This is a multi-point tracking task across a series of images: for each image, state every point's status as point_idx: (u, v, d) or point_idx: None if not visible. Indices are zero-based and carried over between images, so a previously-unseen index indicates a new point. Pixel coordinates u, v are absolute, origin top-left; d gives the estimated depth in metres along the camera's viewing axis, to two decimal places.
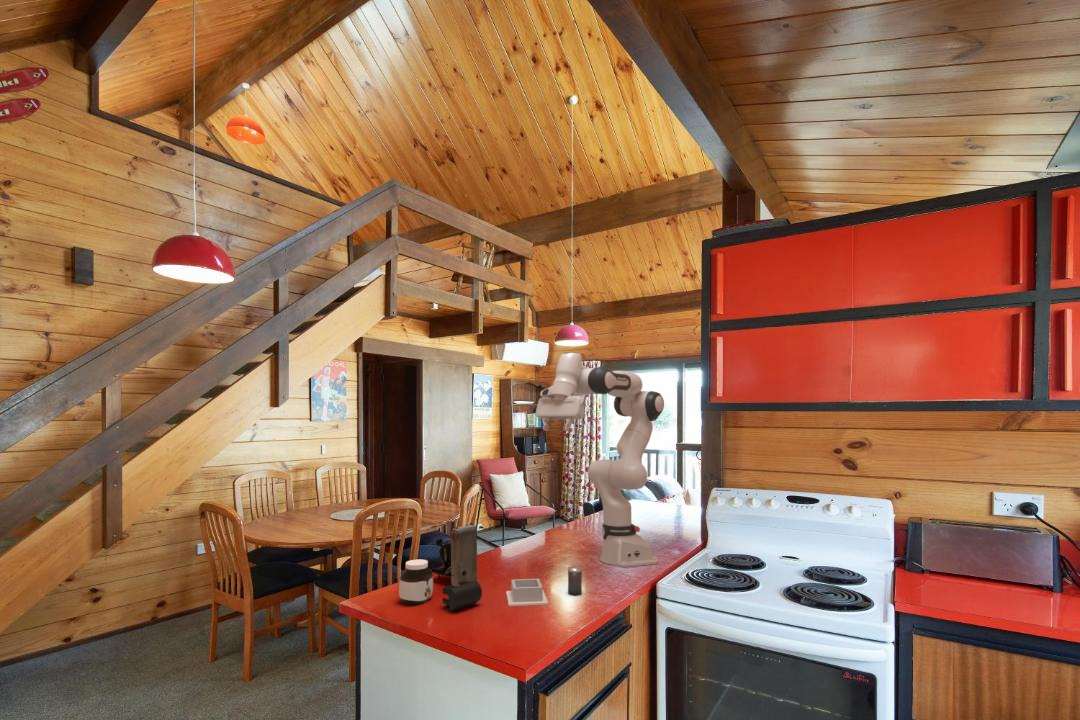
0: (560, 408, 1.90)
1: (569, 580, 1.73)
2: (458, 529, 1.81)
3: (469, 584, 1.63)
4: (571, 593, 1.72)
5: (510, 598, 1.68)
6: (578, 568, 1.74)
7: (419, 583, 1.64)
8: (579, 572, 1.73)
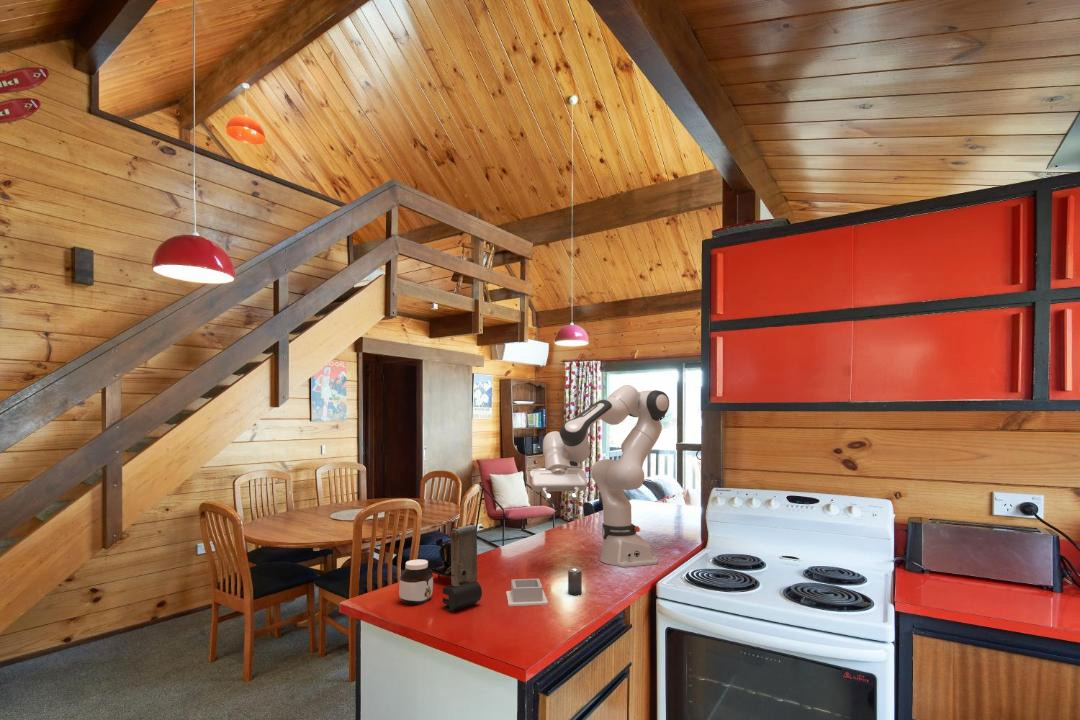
0: None
1: (569, 580, 1.73)
2: (458, 529, 1.81)
3: (469, 584, 1.63)
4: (571, 593, 1.72)
5: (510, 598, 1.68)
6: (578, 568, 1.74)
7: (419, 583, 1.64)
8: (579, 572, 1.73)
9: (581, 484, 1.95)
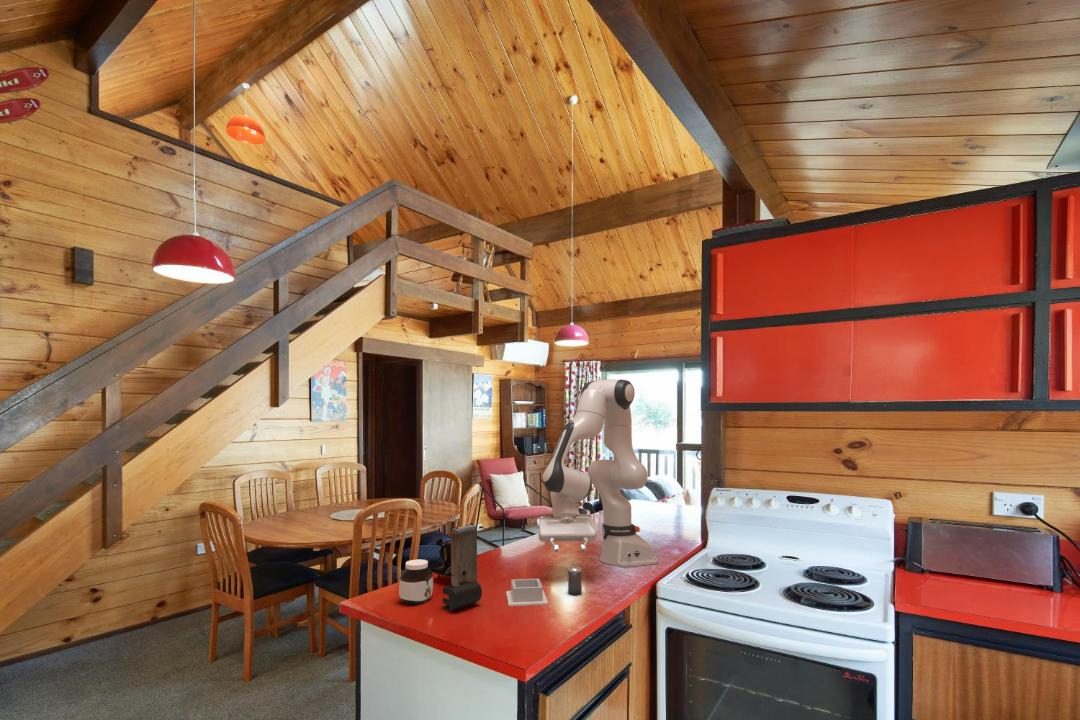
0: None
1: (569, 580, 1.73)
2: (458, 529, 1.81)
3: (469, 584, 1.63)
4: (571, 593, 1.72)
5: (510, 598, 1.68)
6: (578, 568, 1.74)
7: (419, 583, 1.64)
8: (579, 572, 1.73)
9: (590, 534, 1.86)
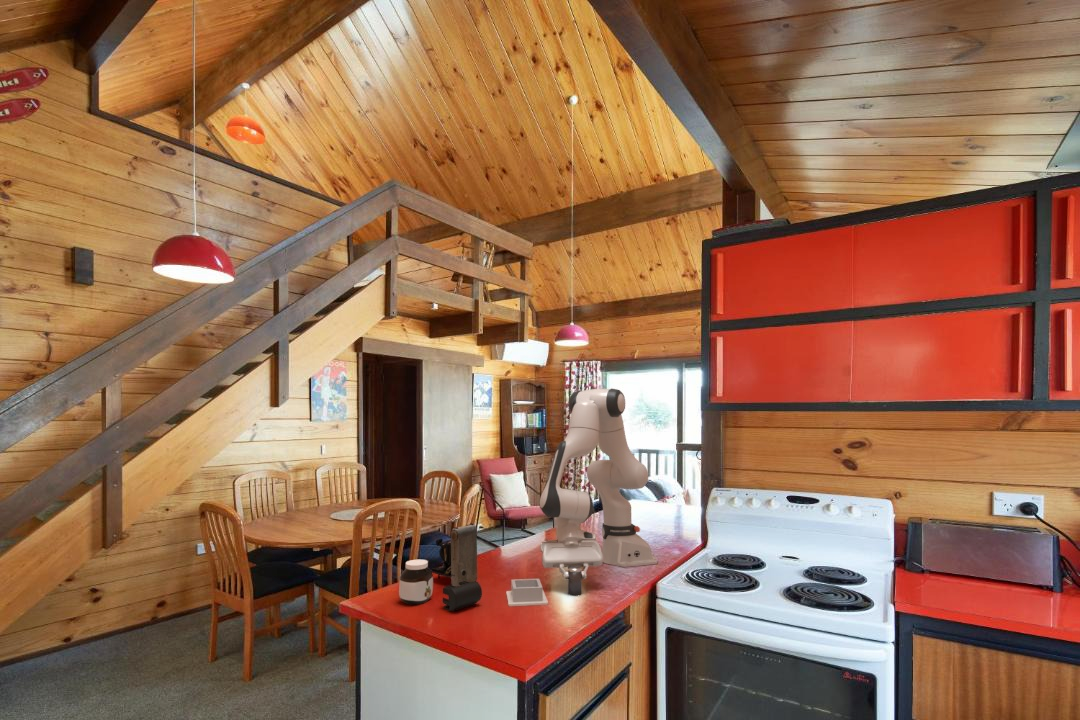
0: None
1: (569, 580, 1.73)
2: (458, 529, 1.81)
3: (469, 584, 1.63)
4: (571, 593, 1.72)
5: (510, 598, 1.68)
6: (578, 568, 1.74)
7: (419, 583, 1.64)
8: (579, 572, 1.73)
9: (596, 560, 1.78)
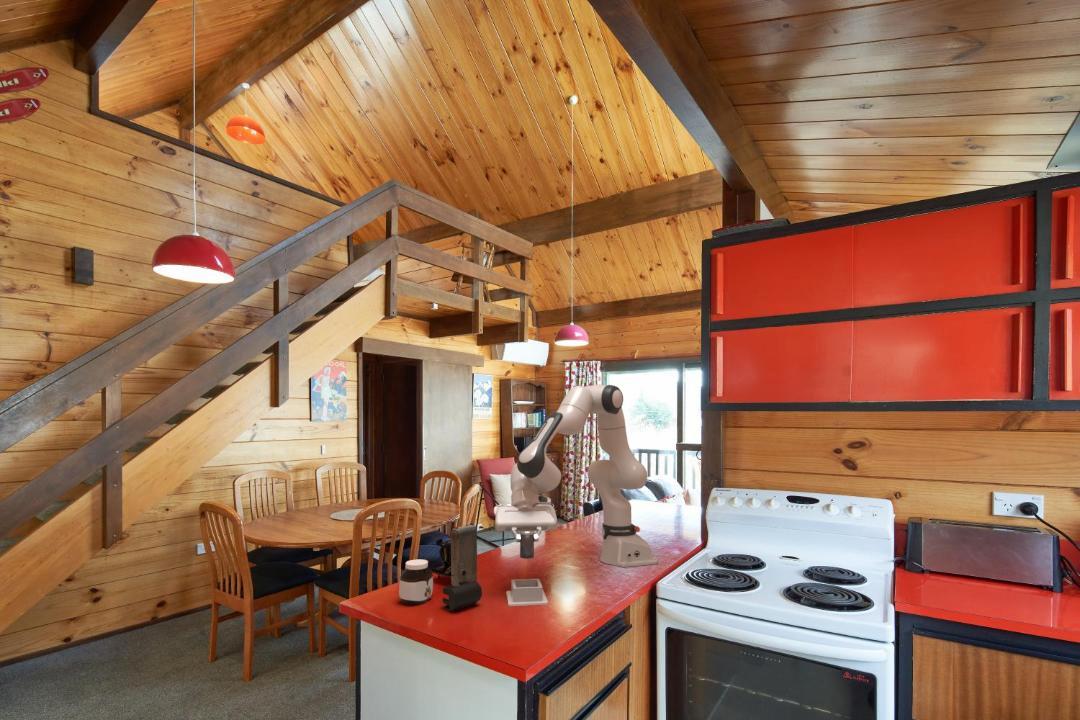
0: None
1: (520, 543, 1.70)
2: (458, 529, 1.81)
3: (469, 584, 1.63)
4: (522, 556, 1.69)
5: (510, 598, 1.68)
6: (530, 531, 1.71)
7: (419, 583, 1.64)
8: (531, 535, 1.69)
9: (550, 523, 1.74)
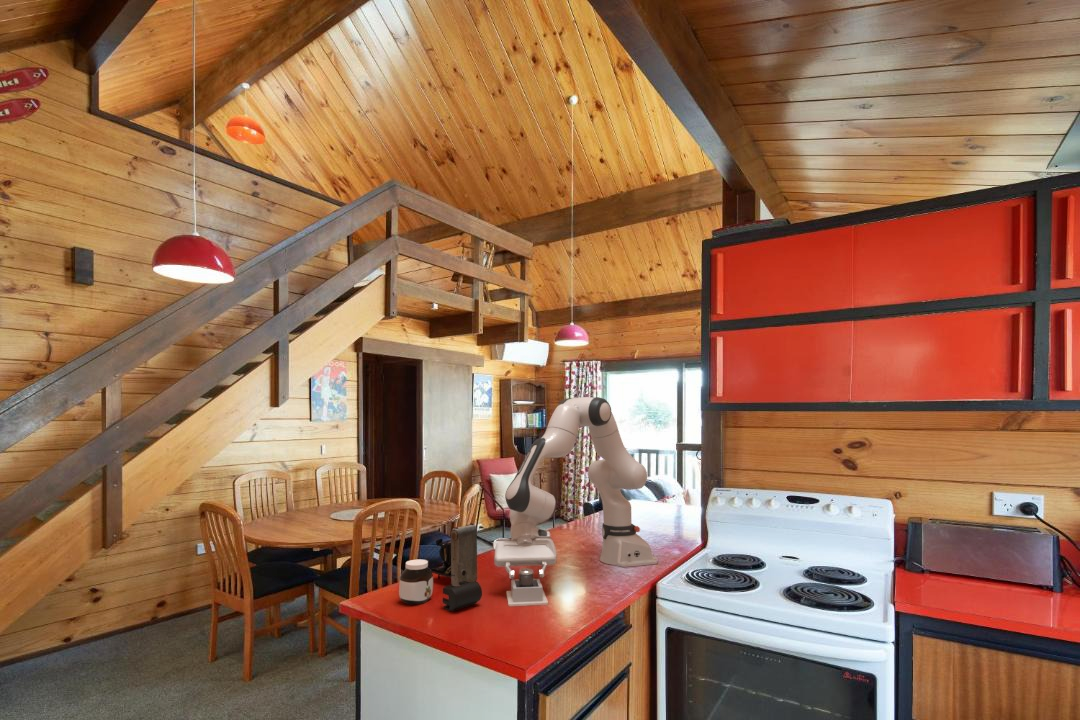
0: None
1: (519, 583, 1.69)
2: (458, 529, 1.81)
3: (469, 584, 1.63)
4: None
5: (510, 598, 1.68)
6: (529, 570, 1.70)
7: (419, 583, 1.64)
8: (530, 574, 1.68)
9: (549, 558, 1.73)
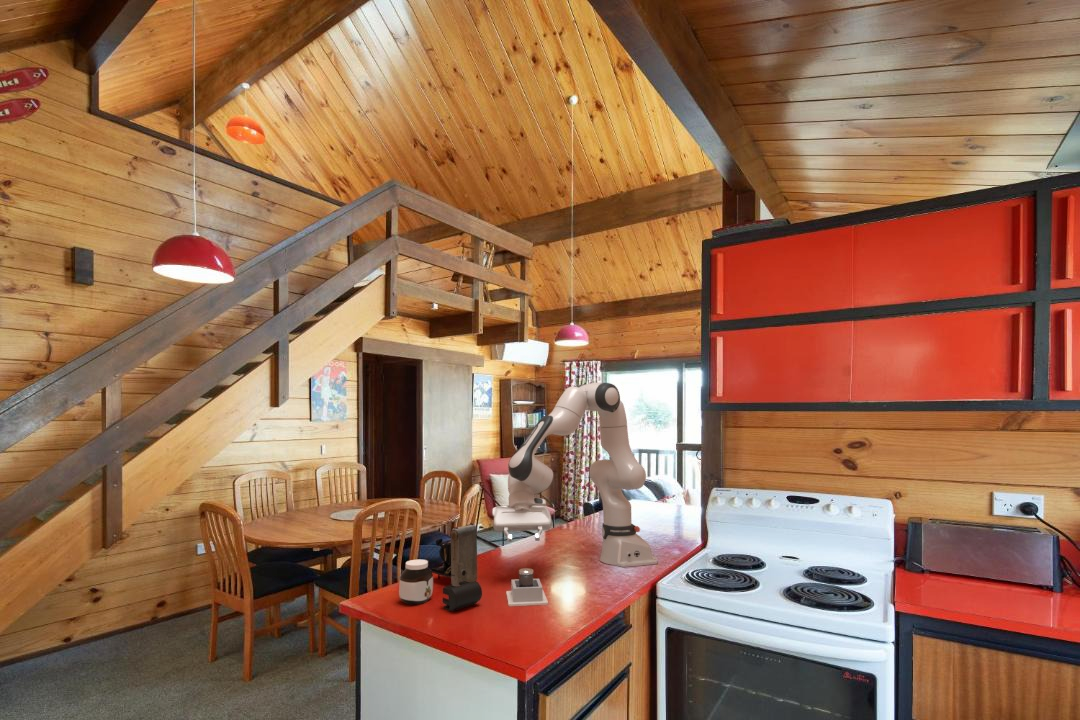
0: None
1: (519, 583, 1.69)
2: (458, 529, 1.81)
3: (469, 584, 1.63)
4: None
5: (510, 598, 1.68)
6: (529, 570, 1.70)
7: (419, 583, 1.64)
8: (530, 574, 1.68)
9: (545, 523, 1.86)
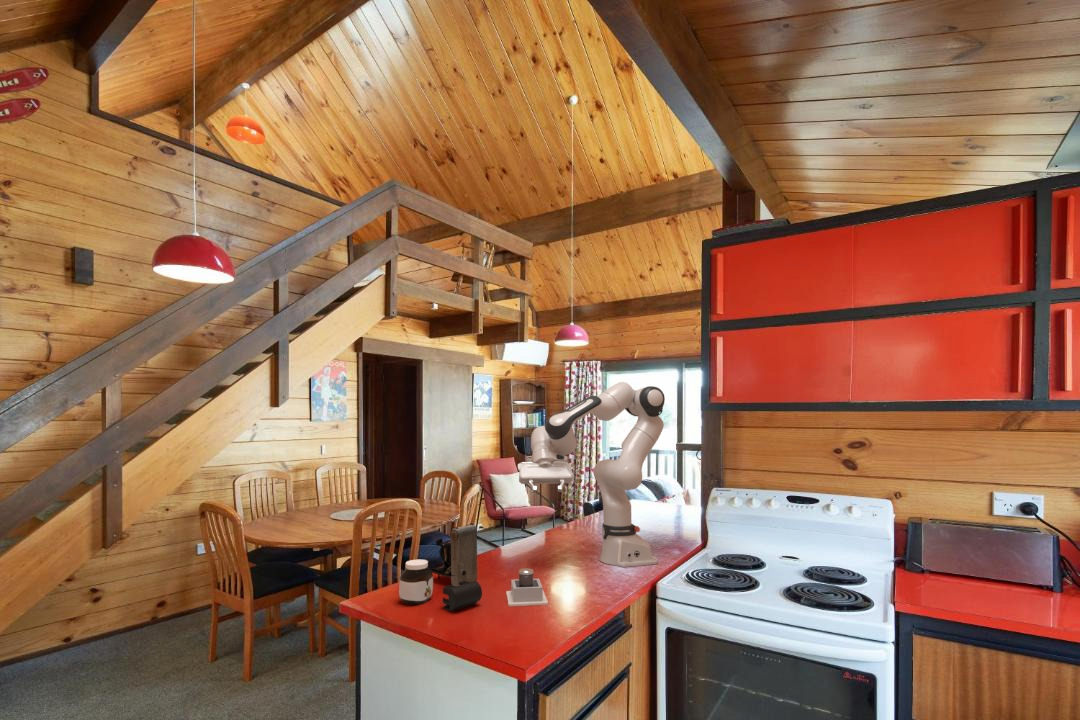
0: None
1: (519, 583, 1.69)
2: (458, 529, 1.81)
3: (469, 584, 1.63)
4: None
5: (510, 598, 1.68)
6: (529, 570, 1.70)
7: (419, 583, 1.64)
8: (530, 574, 1.68)
9: (567, 477, 2.01)
